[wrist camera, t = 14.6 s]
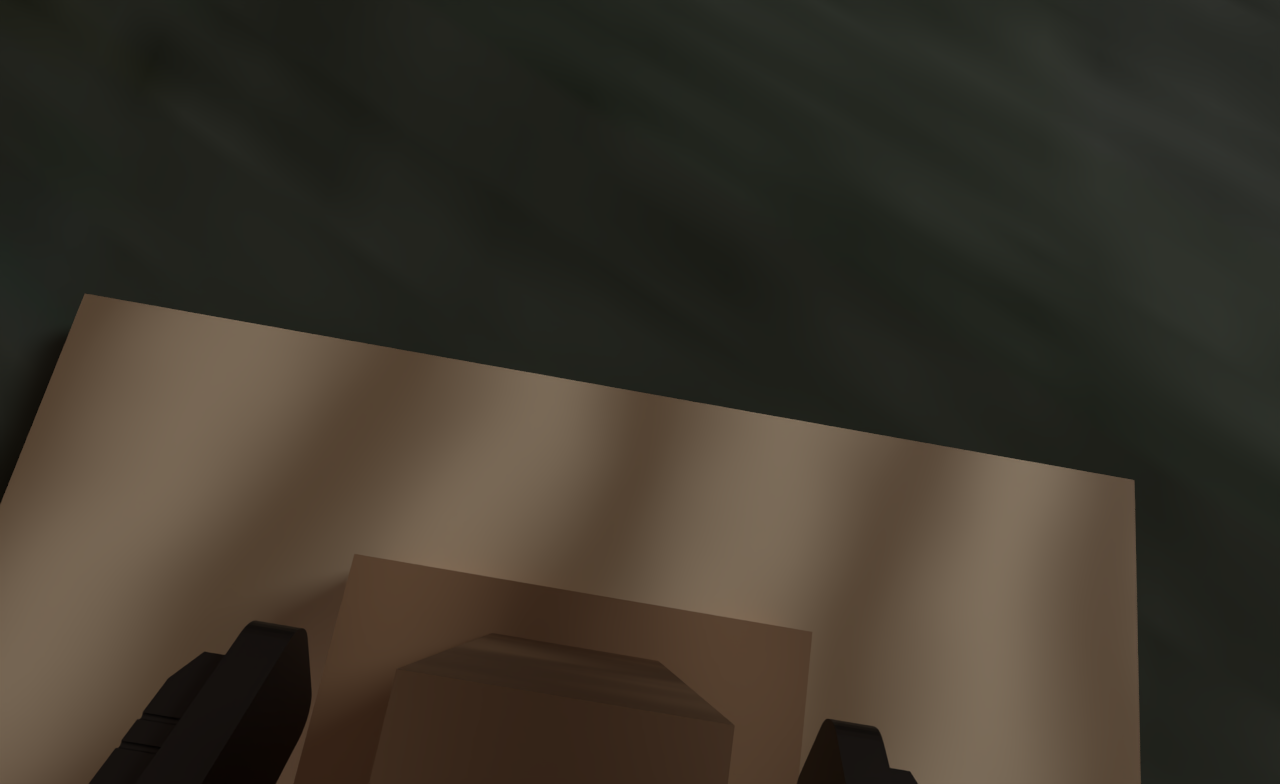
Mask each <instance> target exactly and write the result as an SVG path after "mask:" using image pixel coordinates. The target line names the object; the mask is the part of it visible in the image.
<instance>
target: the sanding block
mask: <svg viewBox="0 0 1280 784" xmlns="http://www.w3.org/2000/svg"><path fill="white" fill-rule="evenodd" d="M811 642H812V632H810V631H804V630H798V629H793V628H787V627H781V626H775V625H769V624H763V623H757V622H752V621H746V620H740V619H734V618H728V617H722V616H716V615H711V614H705V613H699V612H693V611H687V610H681V609H675V608H669V607H664V606H658V605H652V604H646V603H640V602H634V601H628V600H623V599H617V598H611V597H605V596H599V595H593V594H587V593H581V592H576V591H570V590H564V589H558V588H552V587H546V586H540V585H535V584H529V583H523V582H517V581H511V580H505V579H499V578H494V577H488V576H482V575H476V574H470V573H464V572H458V571H452V570H447V569H441V568H435V567H429V566H423V565H417V564H411V563H406V562H400V561H394V560H388V559H382V558H376V557H370V556H364V555H359V554H354V557H353V561H352V565H351V568H350V572H349V576H348V580H347V583H346V587H345V591H344V595H343V599H342V602H341V606H340V610H339V614H338V617H337V621H336V625H335V629H334V633H333V636H332V640H331V644H330V648H329V651H328V655H327V659H326V663H325V667H324V670H323V674H322V678H321V682H320V685H319V689H318V693H317V697H316V701H315V704H314V708H313V712H312V716H311V719H310V723H309V727H308V731H307V735H306V738H305V742H304V746H303V750H302V753H301V757H300V761H299V765H298V769H297V772H296V776H295V780H294V784H797V781H798V778H799V769H800V758H801V748H802V737H803V727H804V716H805V705H806V695H807V684H808V674H809V663H810V653H811Z"/></svg>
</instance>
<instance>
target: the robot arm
mask: <svg viewBox="0 0 1280 784" xmlns="http://www.w3.org/2000/svg"><path fill="white" fill-rule="evenodd" d="M311 699H312V688H311V674H310V661H309V647H308V636H307V632H306V630H305V629H303V628H298V627H292V626H286V625H280V624H275V623H269V622H263V621H257V620H255V621H252V622H250V623H249V624H247V625H246V626H245V627H244V629H243V630H242V631H241V633H240V634H239V635H238V637H237V638H236V640H235V641H234V643H233V644H232V646H231V647H230V648H229V650H228V651H227V653H226V654H225V655H222V654H216V653H210V652H203V653H202V654H200V655H199V656H198V657H196V658H195V659H193V660H192V661H191V662H189V663H188V664H187V665H185V666H184V667H183V668H181V669H180V670H179V671H177V672H176V673H175V674H173V675H172V676H170V677H169V678H168V679H167V680H166V682H165V683H164V684H163V686H162V687H161V688H160V690H159V691H158V692H157V694H156V695H155V696H154V698H153V699H152V700H151V702H150V703H149V704H148V706H147V707H146V708H145V710H144V711H143V712H142V717H141V718H140V719H137V720H136V721H135V723H134V724H133V725H132V727H131V728H130V729H129V731H128V732H127V733H126V735H125V736H124V737H123V739H122V740H121V744H120V746H119V747H118V748H115V749H114V751H113V752H112V753H111V755H110V756H109V757H108V759H107V760H106V761H105V763H104V764H103V765H102V767H101V768H100V769H99V770H98V772H97V773H96V774H95V776H94V777H93V778H92V780H91V781H90V782H89V784H276V783H277V781H278V779H279V777H280V775H281V773H282V771H283V769H284V767H285V765H286V763H287V762H288V760H289V758H290V756H291V754H292V752H293V750H294V748H295V746H296V744H297V742H298V740H299V738H300V736H301V734H302V732H303V729H304V727H305V724H306V721H307V718H308V714H309V711H310V706H311ZM797 784H918V783H917V781H916V780H915V778H914V777H913V775H912V773H911V772H910V771H906V770H900V769H894V768H890V766H889V762H888V758H887V754H886V750H885V746H884V742H883V739H882V736H881V733H880V731H879V730H878V729H877V728H876V727H875V726H870V725H864V724H858V723H852V722H846V721H840V720H834V719H826V720H824V722H823V723H822V725H821V727H820V730H819V732H818V734H817V736H816V739H815V741H814V743H813V745H812V748H811V750H810V752H809V754H808V757H807V759H806V761H805V763H804V766H803V768H802V770H801V773H800V775H799V778H798V781H797Z"/></svg>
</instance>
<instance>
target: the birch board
mask: <svg viewBox="0 0 1280 784" xmlns="http://www.w3.org/2000/svg"><path fill="white" fill-rule="evenodd" d="M354 554H359V555H364V556H370V557H376V558H382V559H388V560H394V561H400V562H406V563H411V564H417V565H423V566H429V567H435V568H441V569H447V570H452V571H458V572H464V573H470V574H476V575H482V576H488V577H494V578H499V579H505V580H511V581H517V582H523V583H529V584H535V585H540V586H546V587H552V588H558V589H564V590H570V591H576V592H581V593H587V594H593V595H599V596H605V597H611V598H617V599H623V600H628V601H634V602H640V603H646V604H652V605H658V606H664V607H669V608H675V609H681V610H687V611H693V612H699V613H705V614H711V615H716V616H722V617H728V618H734V619H740V620H746V621H752V622H757V623H763V624H769V625H775V626H781V627H787V628H793V629H798V630H804V631H810V632H812V642H811V653H810V663H809V674H808V684H807V695H806V705H805V716H804V727H803V737H802V748H801V758H800V769H799V775H800V773H801V770H802V768H803V766H804V763H805V761H806V759H807V757H808V754H809V752H810V750H811V748H812V745H813V743H814V741H815V739H816V736H817V734H818V732H819V730H820V727H821V725H822V723H823V722H824V720H826V719H834V720H840V721H846V722H852V723H858V724H864V725H870V726H875V727H876V728H877V729H878V730H879V731H880V733H881V736H882V739H883V742H884V746H885V750H886V754H887V758H888V762H889V766H890V768H894V769H900V770H906V771H910V772H911V773H912V775H913V777H914V778H915V780H916V781H917V783H918V784H1141V777H1140V729H1139V681H1138V633H1137V585H1136V537H1135V489H1134V480H1130V479H1124V478H1119V477H1113V476H1108V475H1102V474H1096V473H1091V472H1085V471H1079V470H1074V469H1068V468H1063V467H1057V466H1051V465H1046V464H1040V463H1034V462H1029V461H1023V460H1018V459H1012V458H1006V457H1001V456H995V455H990V454H984V453H978V452H973V451H967V450H961V449H956V448H950V447H945V446H939V445H933V444H928V443H922V442H916V441H911V440H905V439H900V438H894V437H888V436H883V435H877V434H871V433H866V432H860V431H855V430H849V429H843V428H838V427H832V426H826V425H821V424H815V423H810V422H804V421H798V420H793V419H787V418H781V417H776V416H770V415H765V414H759V413H753V412H748V411H742V410H736V409H731V408H725V407H720V406H714V405H708V404H703V403H697V402H691V401H686V400H680V399H675V398H669V397H663V396H658V395H652V394H647V393H641V392H635V391H630V390H624V389H618V388H613V387H607V386H602V385H596V384H590V383H585V382H579V381H573V380H568V379H562V378H557V377H551V376H545V375H540V374H534V373H528V372H523V371H517V370H512V369H506V368H500V367H495V366H489V365H483V364H478V363H472V362H467V361H461V360H455V359H450V358H444V357H438V356H433V355H427V354H422V353H416V352H410V351H405V350H399V349H393V348H388V347H382V346H377V345H371V344H365V343H360V342H354V341H348V340H343V339H337V338H332V337H326V336H320V335H315V334H309V333H303V332H298V331H292V330H287V329H281V328H275V327H270V326H264V325H259V324H253V323H247V322H242V321H236V320H230V319H225V318H219V317H214V316H208V315H202V314H197V313H191V312H185V311H180V310H174V309H169V308H163V307H157V306H152V305H146V304H140V303H135V302H129V301H124V300H118V299H112V298H107V297H101V296H95V295H90V294H85V295H84V297H83V300H82V302H81V305H80V307H79V310H78V312H77V315H76V317H75V320H74V322H73V325H72V327H71V330H70V332H69V335H68V337H67V340H66V342H65V344H64V347H63V349H62V352H61V354H60V357H59V359H58V362H57V364H56V367H55V369H54V372H53V374H52V377H51V379H50V382H49V384H48V387H47V389H46V392H45V394H44V397H43V399H42V402H41V404H40V407H39V409H38V412H37V414H36V417H35V419H34V422H33V424H32V427H31V429H30V432H29V434H28V437H27V439H26V442H25V444H24V447H23V449H22V452H21V454H20V457H19V459H18V462H17V464H16V467H15V469H14V472H13V474H12V477H11V479H10V481H9V484H8V486H7V489H6V491H5V494H4V496H3V499H2V501H1V504H0V784H89V782H90V781H91V780H92V778H93V777H94V776H95V774H96V773H97V772H98V770H99V769H100V768H101V767H102V765H103V764H104V763H105V761H106V760H107V759H108V757H109V756H110V755H111V753H112V752H113V751H114V749H115V748H118V747H119V746H120V744H121V740H122V739H123V737H124V736H125V735H126V733H127V732H128V731H129V729H130V728H131V727H132V725H133V724H134V723H135V721H136V720H137V719H140V718H141V717H142V712H143V711H144V710H145V708H146V707H147V706H148V704H149V703H150V702H151V700H152V699H153V698H154V696H155V695H156V694H157V692H158V691H159V690H160V688H161V687H162V686H163V684H164V683H165V682H166V680H167V679H168V678H169V677H170V676H172V675H173V674H175V673H176V672H177V671H179V670H180V669H181V668H183V667H184V666H185V665H187V664H188V663H189V662H191V661H192V660H193V659H195V658H196V657H198V656H199V655H200V654H202V653H203V652H210V653H216V654H222V655H225V654H226V653H227V651H228V650H229V648H230V647H231V646H232V644H233V643H234V641H235V640H236V638H237V637H238V635H239V634H240V633H241V631H242V630H243V629H244V627H245V626H246V625H247V624H249V623H250V622H252V621H255V620H257V621H263V622H269V623H275V624H280V625H286V626H292V627H298V628H303V629H305V630H306V632H307V636H308V647H309V661H310V674H311V688H312V699H311V706H310V711H309V714H308V718H307V721H306V724H305V727H304V729H303V732H302V734H301V736H300V738H299V740H298V742H297V744H296V746H295V748H294V750H293V752H292V754H291V756H290V758H289V760H288V762H287V763H286V765H285V767H284V769H283V771H282V773H281V775H280V777H279V779H278V781H277V783H276V784H294V780H295V776H296V772H297V769H298V765H299V761H300V757H301V753H302V750H303V746H304V742H305V738H306V735H307V731H308V727H309V723H310V719H311V716H312V712H313V708H314V704H315V701H316V697H317V693H318V689H319V685H320V682H321V678H322V674H323V670H324V667H325V663H326V659H327V655H328V651H329V648H330V644H331V640H332V636H333V633H334V629H335V625H336V621H337V617H338V614H339V610H340V606H341V602H342V599H343V595H344V591H345V587H346V583H347V580H348V576H349V572H350V568H351V565H352V561H353V557H354Z"/></svg>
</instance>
